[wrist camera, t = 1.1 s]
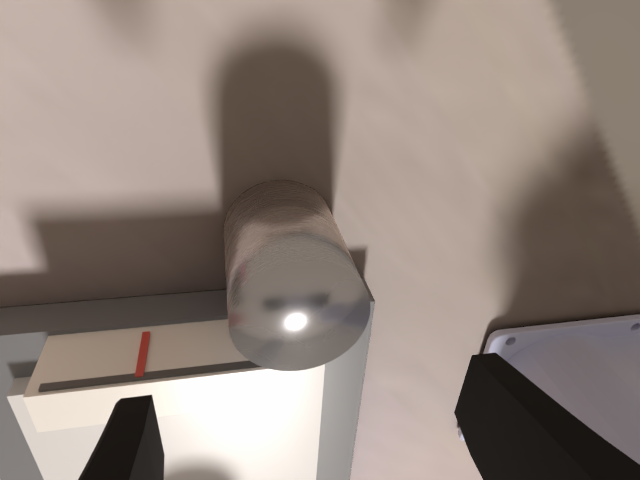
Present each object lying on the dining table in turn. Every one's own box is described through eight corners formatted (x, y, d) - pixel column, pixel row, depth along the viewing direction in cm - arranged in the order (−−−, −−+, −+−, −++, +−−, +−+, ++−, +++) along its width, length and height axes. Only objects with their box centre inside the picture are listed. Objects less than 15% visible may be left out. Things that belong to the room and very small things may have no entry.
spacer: (335, 178, 16) (377, 255, 12) (328, 270, 19) (363, 363, 14) (220, 182, 16) (224, 266, 12) (226, 278, 18) (231, 378, 14)
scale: (364, 278, 19) (397, 349, 16) (336, 507, 28) (353, 584, 24) (-51, 311, 16) (-121, 409, 13) (65, 555, 25) (42, 650, 22)
